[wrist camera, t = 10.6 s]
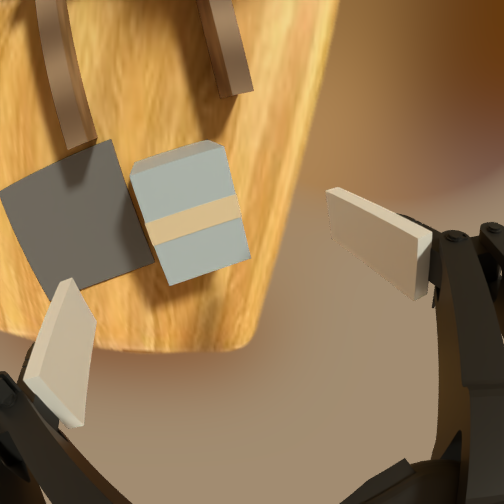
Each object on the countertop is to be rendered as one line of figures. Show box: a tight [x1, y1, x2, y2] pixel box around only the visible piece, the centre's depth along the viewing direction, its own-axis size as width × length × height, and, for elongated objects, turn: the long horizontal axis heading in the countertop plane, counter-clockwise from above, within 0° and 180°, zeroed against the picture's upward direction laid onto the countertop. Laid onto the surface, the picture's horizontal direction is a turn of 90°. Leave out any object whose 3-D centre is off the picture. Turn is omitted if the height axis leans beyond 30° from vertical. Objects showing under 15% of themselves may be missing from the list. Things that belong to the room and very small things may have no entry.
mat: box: [0, 139, 155, 301], centre depth 23 cm, size 11×11×1 cm
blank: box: [130, 139, 251, 286], centre depth 23 cm, size 8×6×6 cm
